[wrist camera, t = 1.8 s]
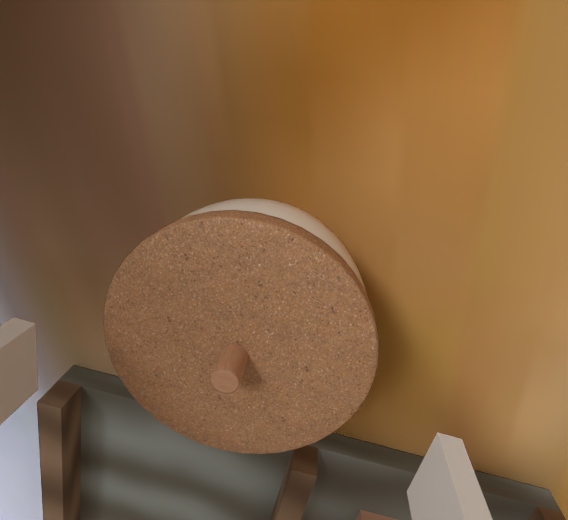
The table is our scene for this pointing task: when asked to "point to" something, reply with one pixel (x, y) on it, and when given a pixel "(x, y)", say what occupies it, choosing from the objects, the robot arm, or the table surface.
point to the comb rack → (221, 469)
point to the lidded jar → (243, 327)
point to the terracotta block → (371, 516)
